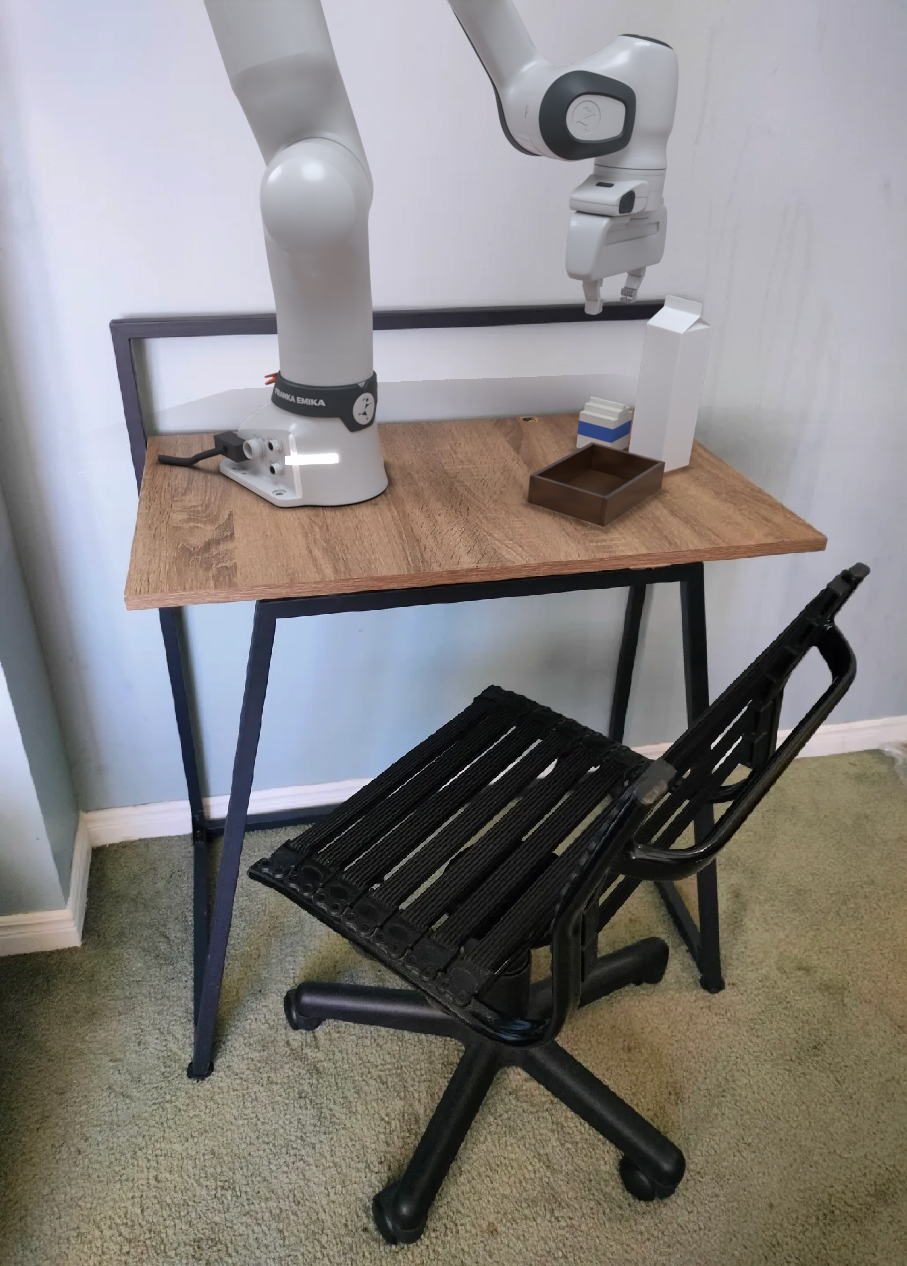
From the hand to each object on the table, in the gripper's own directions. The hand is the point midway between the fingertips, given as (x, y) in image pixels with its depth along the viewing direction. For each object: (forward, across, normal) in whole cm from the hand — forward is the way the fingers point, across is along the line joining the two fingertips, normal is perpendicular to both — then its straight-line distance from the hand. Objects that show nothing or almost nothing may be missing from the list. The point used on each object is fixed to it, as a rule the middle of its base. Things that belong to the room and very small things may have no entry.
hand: (610, 307), depth 121 cm
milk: (+19, 0, +10) cm, 22 cm away
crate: (+19, +15, +9) cm, 26 cm away
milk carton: (+19, 0, +2) cm, 19 cm away
